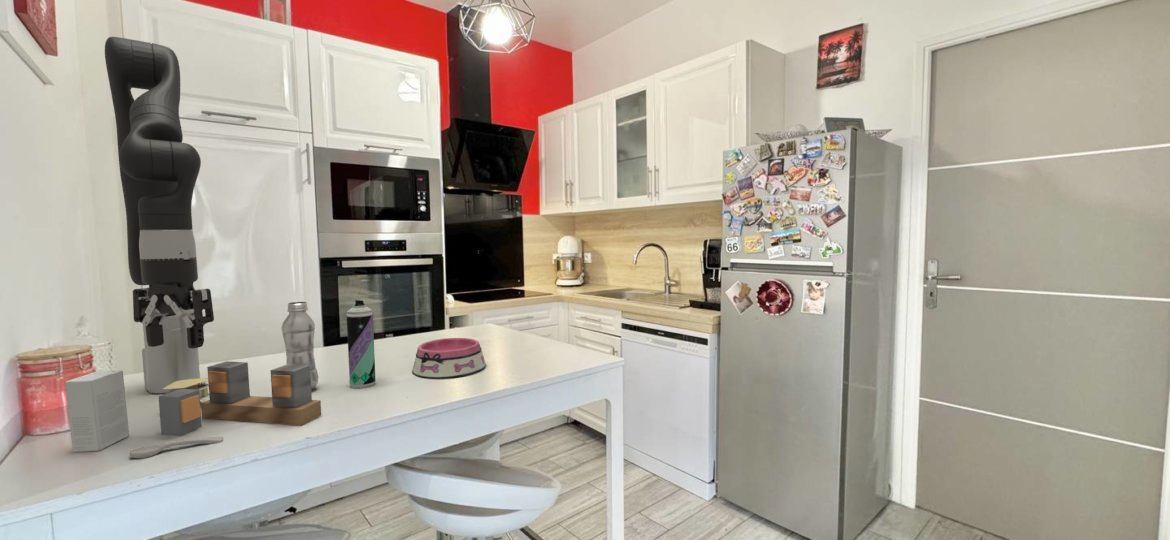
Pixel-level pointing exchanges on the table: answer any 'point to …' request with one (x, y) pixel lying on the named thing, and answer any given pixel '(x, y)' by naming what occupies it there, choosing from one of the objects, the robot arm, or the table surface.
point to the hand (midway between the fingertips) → (175, 346)
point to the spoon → (155, 449)
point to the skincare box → (97, 410)
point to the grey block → (180, 412)
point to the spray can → (361, 345)
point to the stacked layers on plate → (191, 386)
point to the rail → (236, 403)
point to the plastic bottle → (300, 338)
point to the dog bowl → (448, 358)
